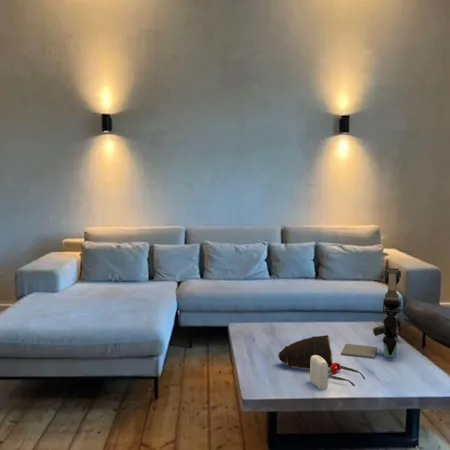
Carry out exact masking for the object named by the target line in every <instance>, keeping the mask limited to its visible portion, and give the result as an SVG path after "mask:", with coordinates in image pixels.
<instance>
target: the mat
mask: <svg viewBox="0 0 450 450" xmlns="http://www.w3.org/2000/svg"><path fill="white" fill-rule="evenodd" d="M377 351H378V346H370V345H363V344H362V345H361V344H354V343H353V344H352V343H344V346H343V348H342V350H341V353H340V355H341V356H345V357H346V356H347V357H354V358H355V357H356V358H365V359H374V360H375V358H376V355H377Z"/></svg>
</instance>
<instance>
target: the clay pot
mask: <svg viewBox="0 0 450 450" xmlns="http://www.w3.org/2000/svg"><path fill="white" fill-rule="evenodd" d="M331 348H332V347H331V340H330V336H329V334H328V335H327V334H325V335H319V336H318V335H317V336H316V335H314V336H312V337H307V338H302V339H300V340H297V341H295V342H292V343H291V344H289V345H287V346H286V345H285V346H284V348H283V349H282V350H281V351H279V352H278V354H277V358H278V359H279V360H280V361H281V363H284V364H286V366H288V367H290V368H292V369H301V370H307V371H310V359H311V357H312V356H313V355H318V356H320V357H322V358H323V359H324V360H325V361H326V362H327V364H328V367H329V368H330V367H331V365H332V364H333V363H334V361H333V353H332V352H333V351H332V349H331Z"/></svg>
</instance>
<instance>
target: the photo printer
mask: <svg viewBox="0 0 450 450" xmlns="http://www.w3.org/2000/svg"><path fill="white" fill-rule="evenodd" d="M309 381H310V382H311V384H313V385H314V386H315V387H317V389H320V390H327V388H328V384H329V378H328V364H327V362H326V361H325V360H324V359H323V358H322V357H320V356H318V355H313V356H312V357H311V359H310V370H309Z"/></svg>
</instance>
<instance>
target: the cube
mask: <svg viewBox="0 0 450 450" xmlns="http://www.w3.org/2000/svg"><path fill="white" fill-rule="evenodd" d="M383 357H386V358H394V359H396V358H397V357H398V343H397V344H396V346H395V348H394V350H393V352H392V354H391V355H389V353H388V348H387V345H386V344H385V343H383Z"/></svg>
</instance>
